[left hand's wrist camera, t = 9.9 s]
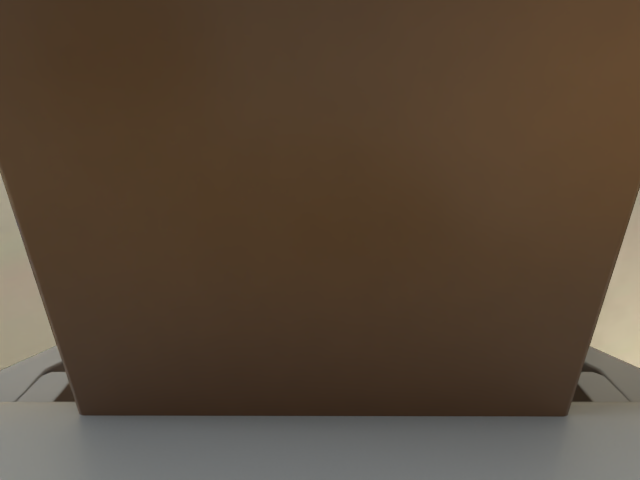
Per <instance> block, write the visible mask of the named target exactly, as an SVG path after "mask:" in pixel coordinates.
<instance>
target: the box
mask: <svg viewBox="0 0 640 480" xmlns="http://www.w3.org/2000/svg"><path fill="white" fill-rule="evenodd" d="M0 173H1V176H2V179H3V182H4V185H5V188H6V191H7V194H8V197H9V200H10V203H11V206H12V209H13V212H14V216H15V219H16V222H17V225H18V228H19V231H20V234H21V237H22V240H23V243H24V246H25V249H26V252H27V255H28V258H29V262H30V265H31V268H32V271H33V274H34V277H35V280H36V283H37V286H38V289H39V292H40V295H41V298H42V301H43V304H44V308H45V311H46V314H47V317H48V320H49V323H50V326H51V329H52V332H53V335H54V338H55V341H56V344H57V347H58V350H59V354H60V357H61V360H62V363H63V366H64V369H65V372H66V375H67V378H68V381H69V384H70V387H71V390H72V393H73V396H74V400H75V403H76V406H77V409H78V412H79V414H80V415H83V416H538V417H564V416H567V415H568V412H569V409H570V406H571V403H572V400H573V396H574V393H575V390H576V387H577V384H578V381H579V377H580V374H581V371H582V368H583V365H584V362H585V358H586V355H587V352H588V349H589V346H590V343H591V340H592V336H593V333H594V330H595V327H596V324H597V321H598V317H599V314H600V311H601V308H602V305H603V302H604V298H605V295H606V292H607V289H608V286H609V283H610V280H611V276H612V273H613V270H614V267H615V264H616V261H617V257H618V254H619V251H620V248H621V245H622V242H623V238H624V235H625V232H626V229H627V226H628V223H629V220H630V216H631V213H632V210H633V207H634V204H635V201H636V197H637V194H638V191H639V188H640V0H0Z"/></svg>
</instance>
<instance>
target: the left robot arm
mask: <svg viewBox="0 0 640 480" xmlns="http://www.w3.org/2000/svg"><path fill="white" fill-rule="evenodd" d="M0 480H640V368H638V367H636V366H633V365H631V364H629V363H627V362H624V361H622V360H620V359H618V358H615V357H613V356H611V355H609V354H606V353H604V352H602V351H600V350H597V349H595V348H593V347H591V346H589V349H588V352H587V355H586V358H585V362H584V365H583V368H582V371H581V374H580V377H579V381H578V384H577V387H576V390H575V393H574V396H573V400H572V403H571V406H570V409H569V412H568V415H567V416H564V417H538V416H83V415H80V414H79V412H78V409H77V406H76V403H75V400H74V396H73V393H72V390H71V387H70V384H69V381H68V378H67V375H66V372H65V369H64V366H63V363H62V360H61V357H60V354H59V350H58V347H57V345H56V346H54V347H52V348H50V349H47V350H45V351H43V352H41V353H38V354H36V355H34V356H32V357H29V358H27V359H25V360H23V361H21V362H18V363H16V364H14V365H12V366H9V367H7V368H5V369H3V370H1V371H0Z"/></svg>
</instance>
